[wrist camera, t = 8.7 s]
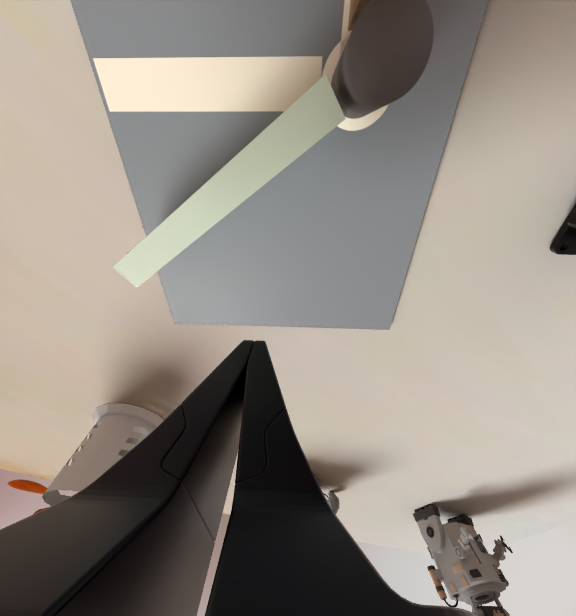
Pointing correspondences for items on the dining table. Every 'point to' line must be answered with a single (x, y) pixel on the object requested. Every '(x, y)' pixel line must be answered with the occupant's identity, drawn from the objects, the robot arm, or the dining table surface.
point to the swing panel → (237, 180)
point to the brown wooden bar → (382, 54)
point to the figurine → (463, 562)
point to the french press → (103, 447)
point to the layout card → (291, 180)
